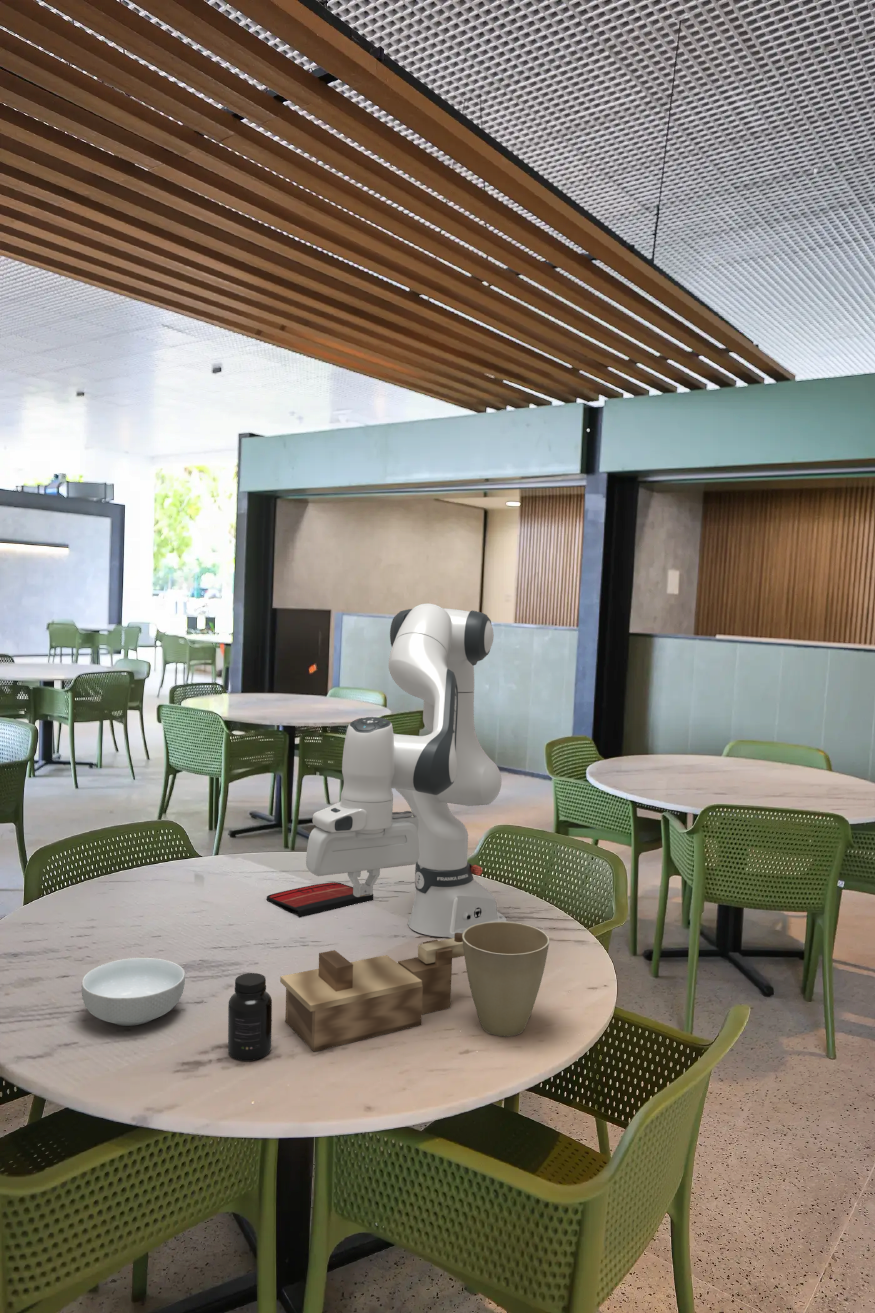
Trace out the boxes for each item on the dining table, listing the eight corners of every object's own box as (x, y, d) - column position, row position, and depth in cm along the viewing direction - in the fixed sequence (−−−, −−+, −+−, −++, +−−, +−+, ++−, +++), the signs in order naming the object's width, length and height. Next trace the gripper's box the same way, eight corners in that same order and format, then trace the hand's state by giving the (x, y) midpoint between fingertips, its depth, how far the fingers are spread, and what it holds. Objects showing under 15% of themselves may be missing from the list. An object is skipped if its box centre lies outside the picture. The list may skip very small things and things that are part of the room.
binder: (373, 892, 223) (299, 910, 209) (373, 902, 223) (299, 920, 209) (335, 878, 235) (262, 894, 221) (335, 887, 235) (262, 904, 221)
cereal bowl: (125, 1049, 148) (126, 1006, 147) (59, 1021, 156) (60, 980, 156) (205, 1010, 162) (205, 971, 161) (140, 986, 171) (141, 949, 170)
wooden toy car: (459, 949, 171) (460, 930, 171) (468, 955, 169) (469, 935, 169) (417, 958, 167) (418, 938, 166) (426, 964, 164) (427, 944, 164)
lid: (386, 966, 169) (387, 933, 169) (421, 993, 158) (422, 958, 158) (280, 989, 158) (280, 953, 158) (310, 1019, 148) (311, 981, 147)
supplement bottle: (230, 1041, 151) (232, 969, 150) (273, 1041, 152) (274, 969, 151) (224, 1062, 144) (226, 987, 144) (268, 1062, 145) (270, 987, 144)
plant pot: (476, 1001, 169) (479, 916, 168) (555, 1018, 164) (559, 930, 162) (445, 1036, 156) (449, 943, 154) (530, 1056, 150) (535, 960, 149)
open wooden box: (425, 989, 174) (427, 933, 173) (460, 1015, 163) (462, 956, 163) (285, 1021, 159) (286, 960, 158) (314, 1052, 149) (315, 987, 148)
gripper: (409, 806, 165) (406, 883, 166) (303, 815, 154) (300, 897, 155) (428, 813, 160) (424, 893, 160) (320, 823, 149) (316, 908, 149)
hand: (362, 895), depth 157 cm, fingers closed
